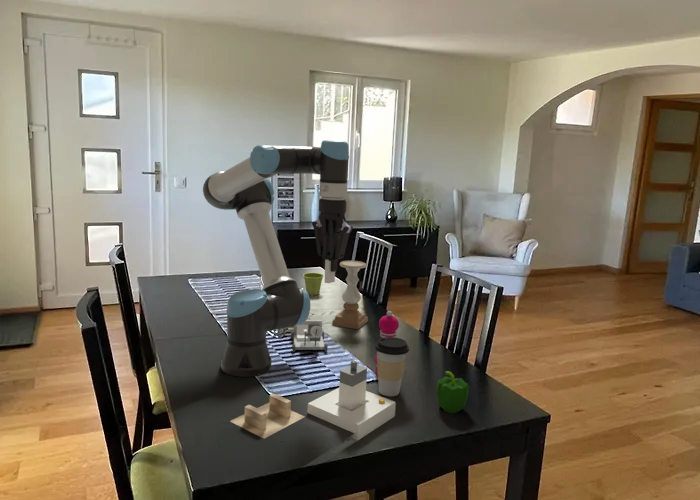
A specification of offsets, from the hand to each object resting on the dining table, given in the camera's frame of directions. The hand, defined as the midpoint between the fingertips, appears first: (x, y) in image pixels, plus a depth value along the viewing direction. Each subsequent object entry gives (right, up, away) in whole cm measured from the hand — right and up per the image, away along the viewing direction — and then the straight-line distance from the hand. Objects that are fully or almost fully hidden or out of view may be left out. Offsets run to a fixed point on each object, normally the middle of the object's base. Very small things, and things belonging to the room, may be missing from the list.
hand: (329, 282), depth 156 cm
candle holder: (+6, -20, +60) cm, 64 cm away
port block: (+6, -34, -13) cm, 37 cm away
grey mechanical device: (-8, -25, +35) cm, 43 cm away
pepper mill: (+17, -29, +15) cm, 37 cm away
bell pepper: (+33, -34, -6) cm, 48 cm away
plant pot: (-11, -11, +99) cm, 100 cm away
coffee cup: (+17, -32, +2) cm, 36 cm away
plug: (+6, -33, -14) cm, 36 cm away
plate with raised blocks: (-15, -34, -19) cm, 42 cm away
